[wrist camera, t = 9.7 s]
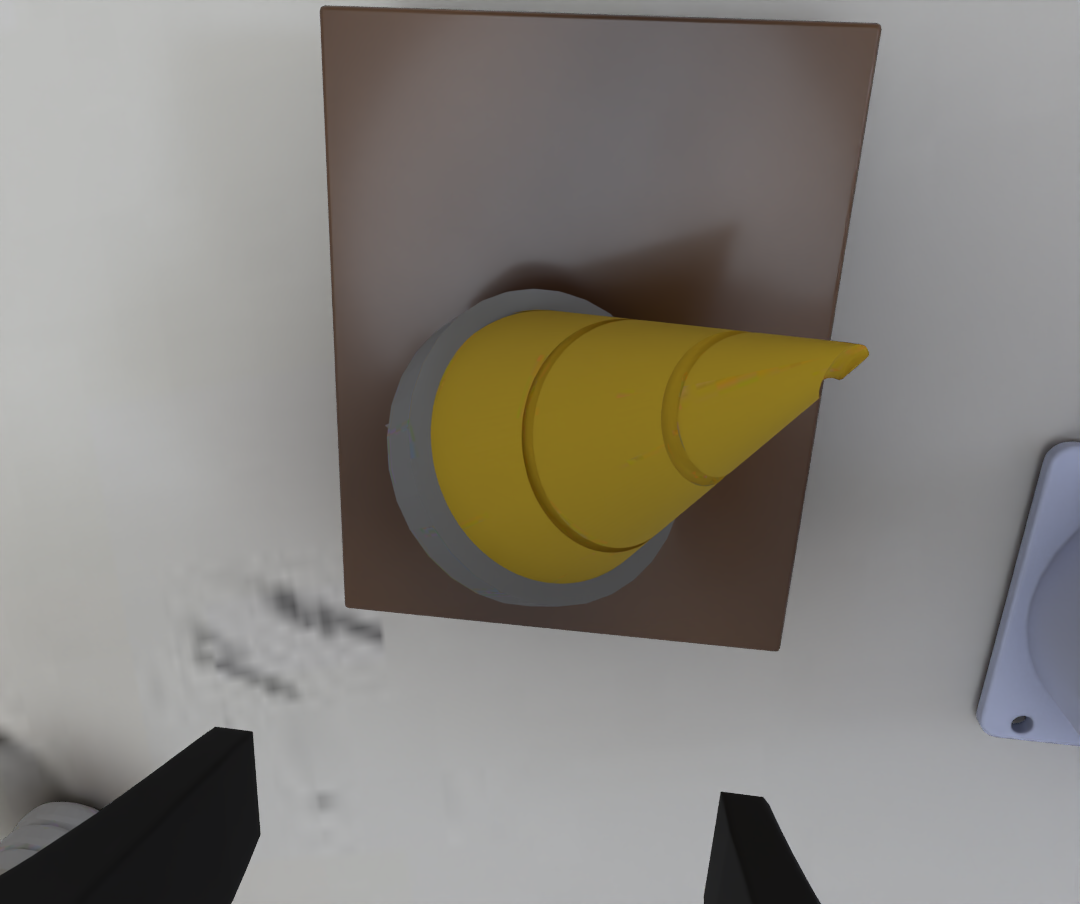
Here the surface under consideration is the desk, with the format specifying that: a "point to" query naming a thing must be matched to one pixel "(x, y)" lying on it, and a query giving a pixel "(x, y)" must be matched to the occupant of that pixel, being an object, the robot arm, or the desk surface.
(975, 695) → the desk surface
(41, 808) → the light bulb
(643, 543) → the yellow stepped cone
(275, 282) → the desk surface
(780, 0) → the desk surface
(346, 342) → the desk riser
